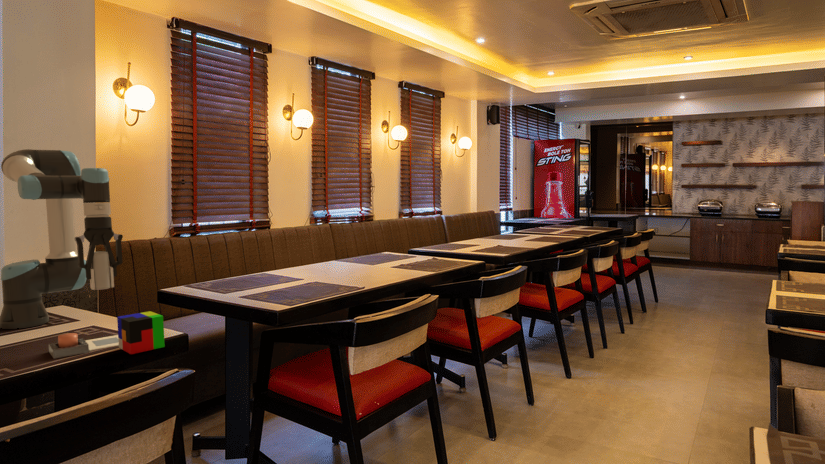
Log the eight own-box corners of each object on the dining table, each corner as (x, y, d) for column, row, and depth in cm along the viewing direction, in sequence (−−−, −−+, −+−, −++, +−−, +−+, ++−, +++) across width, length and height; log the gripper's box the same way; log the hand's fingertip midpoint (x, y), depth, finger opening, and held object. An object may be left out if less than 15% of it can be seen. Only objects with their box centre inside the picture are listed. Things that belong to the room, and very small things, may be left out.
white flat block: (81, 342, 174) (81, 340, 174) (122, 335, 182) (121, 334, 182) (89, 350, 164) (89, 349, 164) (132, 343, 172) (132, 342, 172)
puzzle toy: (118, 348, 167) (117, 316, 167) (151, 341, 175) (150, 311, 174) (130, 354, 161) (129, 322, 160) (164, 347, 168) (163, 315, 167)
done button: (57, 346, 163) (56, 335, 163) (76, 343, 167) (75, 332, 166) (60, 349, 160) (59, 338, 159) (79, 346, 163) (78, 335, 163)
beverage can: (103, 290, 170) (100, 252, 169) (90, 289, 171) (87, 252, 170) (114, 287, 175) (112, 251, 174) (101, 287, 176) (99, 251, 175)
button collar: (49, 351, 164) (48, 344, 163) (82, 345, 170) (82, 338, 169) (53, 358, 157) (53, 350, 157) (88, 352, 163) (88, 344, 163)
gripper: (67, 217, 163) (72, 293, 164) (131, 215, 175) (135, 285, 176) (63, 217, 168) (68, 290, 170) (125, 215, 180) (129, 283, 182)
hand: (102, 287), depth 173 cm, fingers closed on beverage can, 5 cm apart
